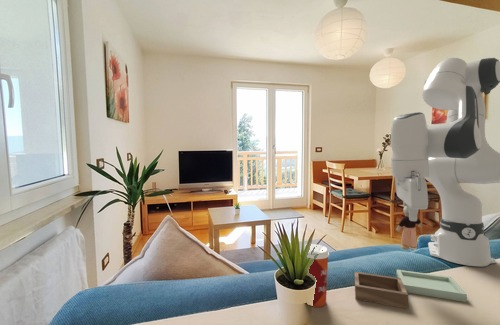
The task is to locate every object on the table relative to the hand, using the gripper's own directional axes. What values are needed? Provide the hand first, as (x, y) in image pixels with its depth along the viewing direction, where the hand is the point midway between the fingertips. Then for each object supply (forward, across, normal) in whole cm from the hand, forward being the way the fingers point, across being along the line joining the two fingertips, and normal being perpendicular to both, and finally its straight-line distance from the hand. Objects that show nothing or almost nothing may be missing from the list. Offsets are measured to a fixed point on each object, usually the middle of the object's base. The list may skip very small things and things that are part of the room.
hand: (410, 218), depth 68 cm
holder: (+20, -7, +9) cm, 23 cm away
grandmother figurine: (+9, +2, 0) cm, 9 cm away
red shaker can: (+20, -16, +25) cm, 36 cm away
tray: (+20, +2, -4) cm, 21 cm away
